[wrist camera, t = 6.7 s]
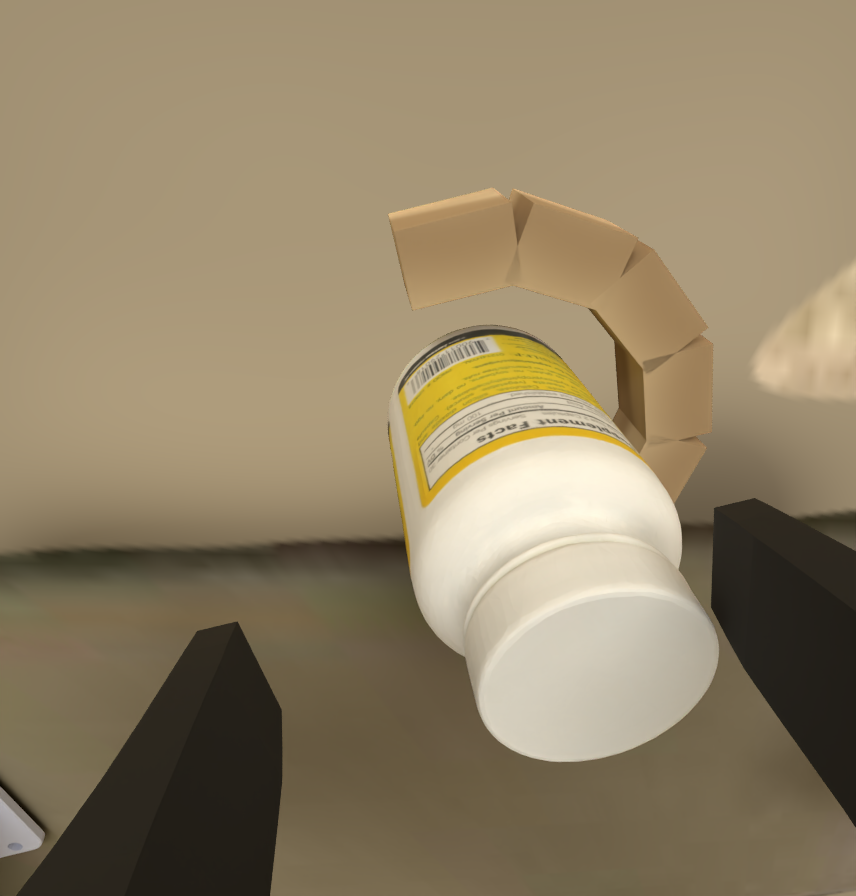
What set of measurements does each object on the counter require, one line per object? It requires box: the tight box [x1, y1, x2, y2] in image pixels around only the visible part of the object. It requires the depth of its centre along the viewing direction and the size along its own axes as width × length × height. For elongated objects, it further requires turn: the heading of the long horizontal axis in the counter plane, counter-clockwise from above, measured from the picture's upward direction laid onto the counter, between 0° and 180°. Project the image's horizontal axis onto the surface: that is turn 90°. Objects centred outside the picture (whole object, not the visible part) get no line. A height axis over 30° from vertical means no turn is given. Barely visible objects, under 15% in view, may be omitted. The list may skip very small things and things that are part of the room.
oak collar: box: [388, 188, 713, 504], centre depth 18 cm, size 7×12×2 cm, turn 13°
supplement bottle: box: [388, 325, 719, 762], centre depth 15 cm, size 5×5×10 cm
